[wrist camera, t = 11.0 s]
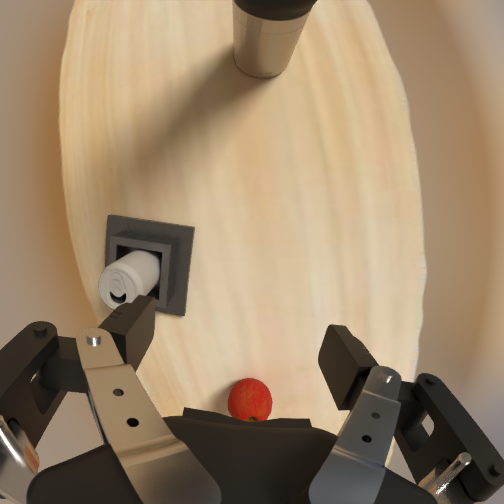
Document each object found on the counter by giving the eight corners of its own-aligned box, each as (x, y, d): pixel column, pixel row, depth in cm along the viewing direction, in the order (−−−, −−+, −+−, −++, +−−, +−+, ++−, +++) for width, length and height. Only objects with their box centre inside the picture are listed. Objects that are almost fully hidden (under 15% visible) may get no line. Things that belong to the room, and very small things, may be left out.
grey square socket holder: (110, 214, 41) (98, 217, 37) (195, 227, 42) (190, 230, 38) (107, 297, 44) (96, 306, 40) (185, 313, 45) (180, 325, 41)
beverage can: (130, 283, 43) (98, 311, 31) (128, 245, 41) (93, 264, 30) (165, 285, 43) (142, 316, 31) (164, 247, 42) (138, 267, 30)
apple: (228, 401, 50) (227, 438, 40) (227, 371, 48) (226, 409, 38) (268, 400, 50) (274, 437, 40) (271, 370, 49) (277, 408, 38)
